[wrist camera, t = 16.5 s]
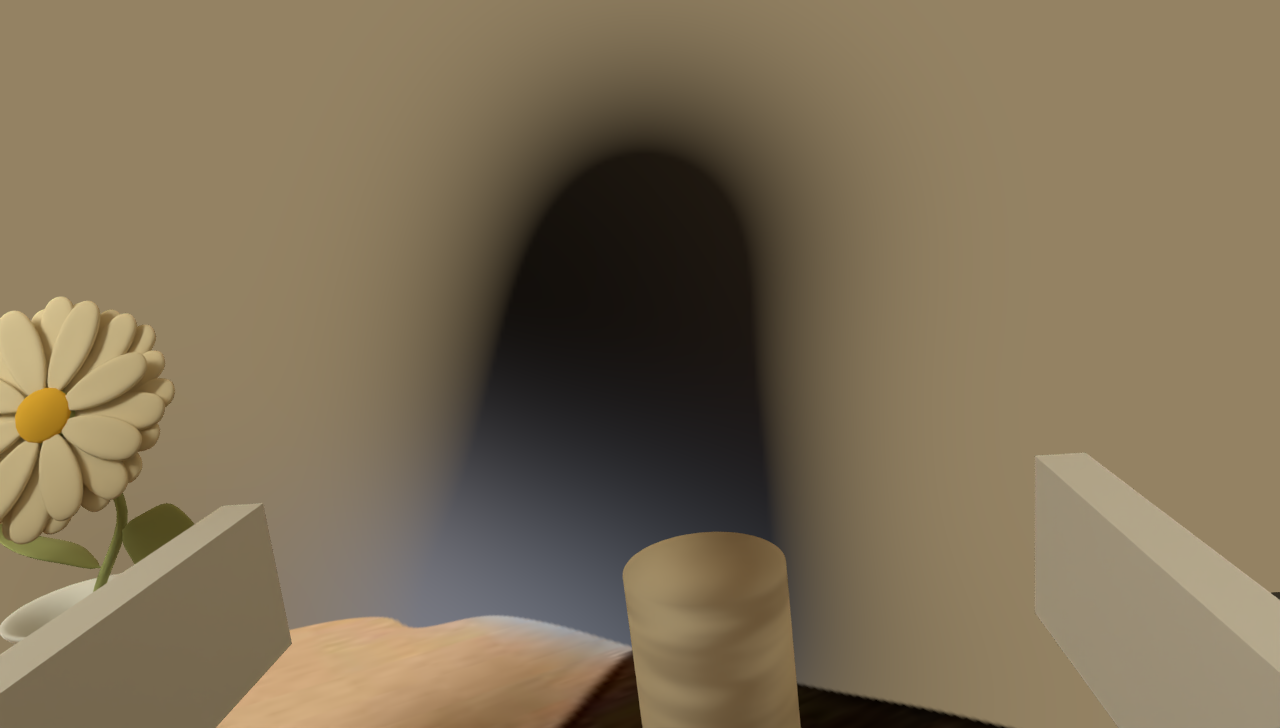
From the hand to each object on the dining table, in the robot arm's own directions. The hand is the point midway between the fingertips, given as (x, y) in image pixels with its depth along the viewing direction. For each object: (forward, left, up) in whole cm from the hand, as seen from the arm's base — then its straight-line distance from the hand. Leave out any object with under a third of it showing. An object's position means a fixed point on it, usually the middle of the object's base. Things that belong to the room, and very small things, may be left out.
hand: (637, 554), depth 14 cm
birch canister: (0, +16, -20) cm, 25 cm away
